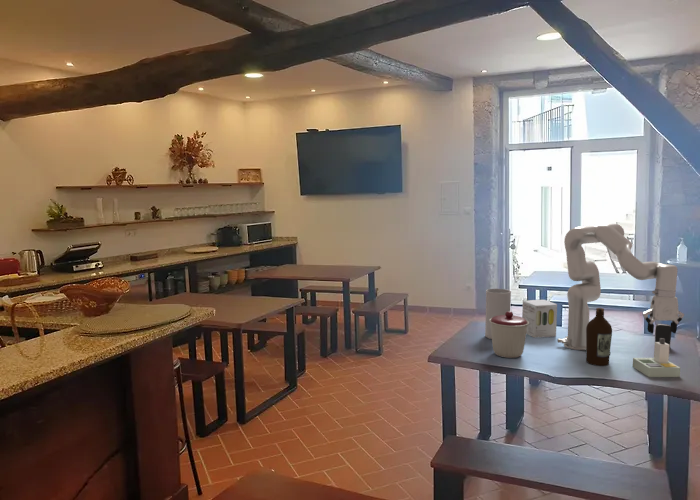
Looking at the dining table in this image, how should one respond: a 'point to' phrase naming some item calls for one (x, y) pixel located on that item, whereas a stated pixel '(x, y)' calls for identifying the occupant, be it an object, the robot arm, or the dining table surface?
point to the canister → (508, 334)
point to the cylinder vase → (496, 306)
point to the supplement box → (540, 318)
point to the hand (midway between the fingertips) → (661, 332)
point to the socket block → (656, 368)
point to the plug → (661, 351)
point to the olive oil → (598, 340)
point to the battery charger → (663, 333)
